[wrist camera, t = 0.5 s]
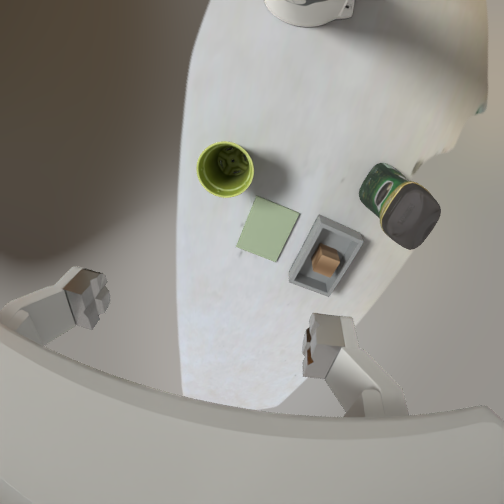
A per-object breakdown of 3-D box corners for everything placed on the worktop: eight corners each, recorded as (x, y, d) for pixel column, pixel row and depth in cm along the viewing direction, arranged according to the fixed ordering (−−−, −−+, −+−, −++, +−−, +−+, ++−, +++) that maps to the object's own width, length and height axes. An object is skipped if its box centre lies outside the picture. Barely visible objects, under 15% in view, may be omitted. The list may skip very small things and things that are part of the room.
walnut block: (319, 242, 58) (322, 254, 53) (336, 249, 58) (340, 262, 54) (311, 258, 60) (312, 270, 55) (327, 264, 60) (330, 277, 56)
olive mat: (256, 195, 55) (256, 196, 54) (299, 212, 56) (299, 213, 55) (236, 245, 61) (236, 246, 60) (275, 260, 61) (275, 262, 61)
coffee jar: (382, 215, 54) (416, 262, 37) (352, 196, 53) (379, 238, 36) (407, 177, 49) (453, 211, 33) (377, 155, 48) (417, 181, 32)
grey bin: (318, 214, 55) (320, 222, 52) (359, 232, 56) (363, 241, 53) (288, 271, 62) (288, 282, 59) (327, 286, 63) (329, 296, 60)
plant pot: (249, 129, 49) (243, 134, 41) (264, 176, 53) (261, 189, 45) (203, 144, 51) (188, 152, 44) (219, 189, 55) (208, 204, 48)
